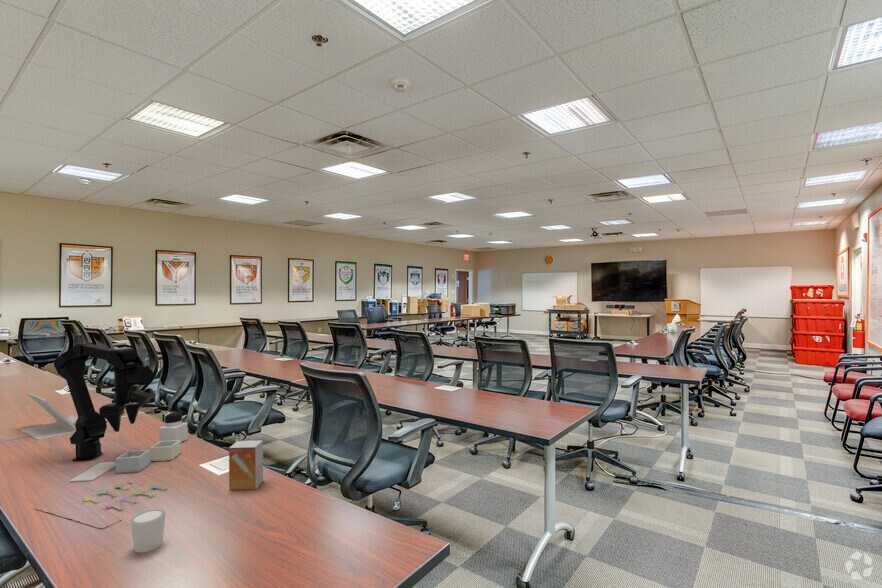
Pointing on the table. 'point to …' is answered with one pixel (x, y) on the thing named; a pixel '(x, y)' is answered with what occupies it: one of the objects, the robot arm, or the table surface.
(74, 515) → the table surface
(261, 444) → the small box
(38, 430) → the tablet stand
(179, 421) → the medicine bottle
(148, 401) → the robot arm
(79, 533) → the table surface
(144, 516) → the white oval container
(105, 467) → the mat
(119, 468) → the grey open box
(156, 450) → the open cream box
